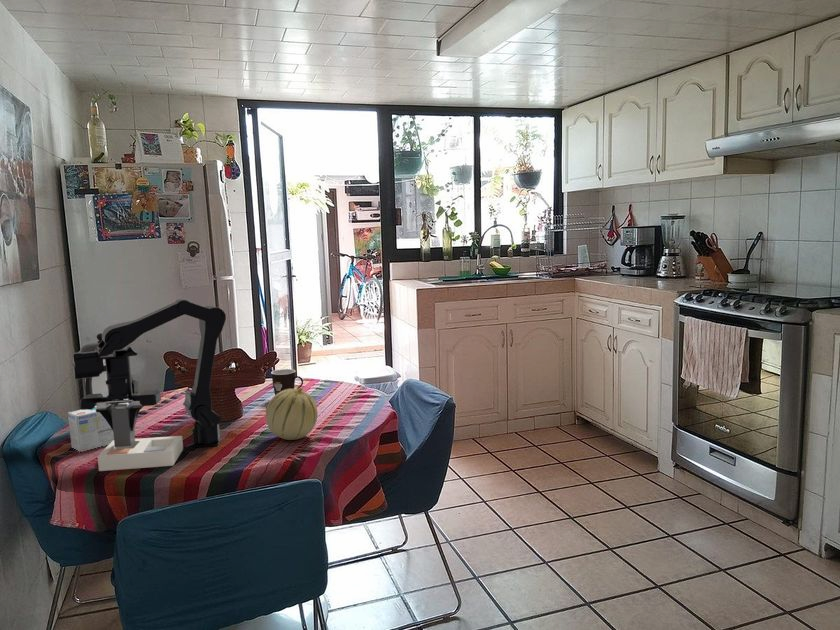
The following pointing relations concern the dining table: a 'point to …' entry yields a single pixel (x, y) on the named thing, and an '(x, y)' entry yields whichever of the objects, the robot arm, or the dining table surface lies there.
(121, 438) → the grey rectangular block
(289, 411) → the cantaloupe
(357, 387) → the dining table surface
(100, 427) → the light bulb box
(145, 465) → the socket block
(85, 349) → the coffee press
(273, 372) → the coffee mug
